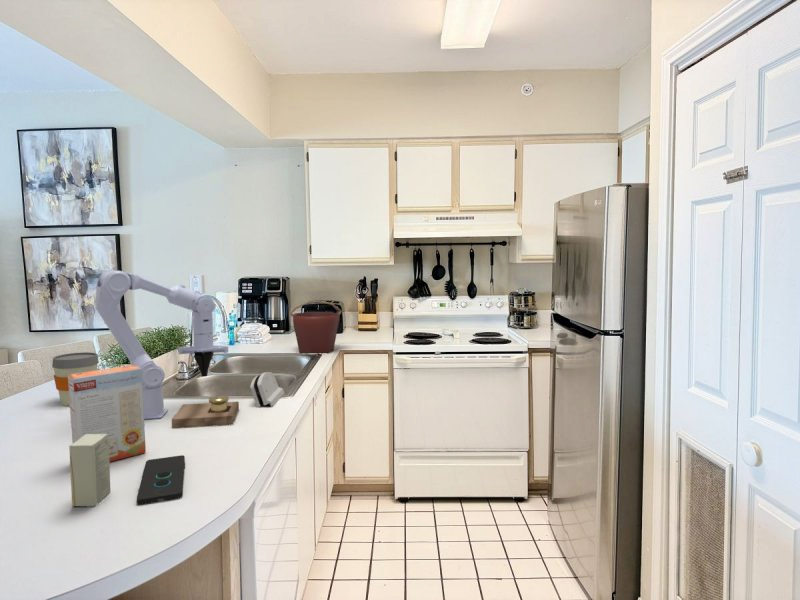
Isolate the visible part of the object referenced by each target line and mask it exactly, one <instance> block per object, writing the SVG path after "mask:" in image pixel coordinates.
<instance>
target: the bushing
mask: <svg viewBox="0 0 800 600" xmlns="http://www.w3.org/2000/svg"><path fill="white" fill-rule="evenodd" d="M229 398H230V397H229V396H228V395H225V394H224V395H223V394H222V395H214V396H210V397H209V398H208V403H211V413H215V412H227V402H229Z"/></svg>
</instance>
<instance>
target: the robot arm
mask: <svg viewBox="0 0 800 600" xmlns="http://www.w3.org/2000/svg"><path fill="white" fill-rule="evenodd" d="M95 289H96V290H95V303H94V304H95V305H94V306H95V310H96V311H97V313H98V314H99V316H100V317H101V319H102V321H103V322H104V324H105V325H106V327H107V328H108V330H109V331H110V333H111V334H112V336H113V337H114V339H115V340H116V342H117V343H118V345H119V347H120V348H121V349H122V351H123V353H124V354H125V356H126V357H127V359H128V361H129V362H130V364H129V365H134V366H137V367H139V368H141V371H142V390H143V409H144V420H149V419H150V420H151V419H152V420H153V419H161V418H163V416H164V415H165V414H166V413H167V412H168V411H169V408H165V407H164V385H163V383H164V380H165V371H164V370H163V368H162V367H161V366H159V365H157V364H156V363H155V361H154V360H153V359H152V358H151V357H150V355H149V354H148V353H147V352H146V350H145V349H144V347H143V344H141V342H140V340H139V339H138V337H137V336H136V334H135V333H134V330H132V328H131V326H130V324H129V323H128V322H127V320H126V319H125V317H124V314H122V311H121V310H120V309H119V307H118V306H119V304H120V302H121V300H122V297H123V296H124V295H125V294H126V293H127V291H128V290H131V291H134V290H140V289H141V290H144V291H146V292H150V293H153V294H156V295H159V296H162V297H165V299H166V300H167V302H168V303H169V304H172V305H174V306H177V307H181V308H184V309H186V310H191V311H192V329H193V331H192V333H193V346H179V347H178V355H183V354H184V355H186V354H187V355H188V354H189V355H190V354H194V355H193V358H194V360H195V362H196V364H197V366H198V368H199V371H200V374H201V377H207V376H208V372H209V367H210V364H211V361H212V358H213V356H214V355H215V354H218V353H222V354H223V353H224V354H227V353H229V345H214V324H213V322H214V321H213V320H214V319H213V312H214V310H215V309H216V304H215V301H214V299H213V298H212V297H210V296H209V295H203V294H201V291H198V290H195V291H194V290H191V289H189V288H187V287H186V285H184V284H180V285H178V284H176V285H173V286H169V285H165V284H162V283H160V282H158V281H155V280H152V279H150V278H148V277H145V276H143V275H139V274H134V273H129V272H125V271H122V270H115V269H108V270H105V271H103V272H102V273H101V274H100V276H99V278H98V279H97V281H96V283H95Z"/></svg>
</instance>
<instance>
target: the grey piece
mask: <svg viewBox="0 0 800 600" xmlns="http://www.w3.org/2000/svg"><path fill="white" fill-rule="evenodd" d="M279 386H280V385H279V384H278V382H277V380H276V377H275V375H274V373H273V372H271V371H267V372H265V371H264V372H263V373H260V374H258V375H256V376H255V377H253V379H252V380H251V383H250V390H251V391H250V392H251V394H252V397H253V400H254V403H255V406H256V408H260V407H262V406H266V405H270V407H271V408H274V407H273V406H276V405H277V403H278V402H279V401H280V399H281V398H282V397H283V396H284V395H285V390H284V388H282V387H279ZM282 395H283V396H282ZM281 396H282V397H281ZM280 397H281V398H280Z"/></svg>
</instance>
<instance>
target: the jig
mask: <svg viewBox="0 0 800 600" xmlns="http://www.w3.org/2000/svg"><path fill="white" fill-rule="evenodd" d="M239 402H240V401H227V412H215V413H211V403H210V402H208V403H207V402H205V403H204V402H203V403H202V402H201V403H187V404H186V403H183V404H182V405H181V407H180V408H179V410H178V411H177V412H175V414H174V415H173V417H172V418H171V429H182V428H181V427H184V428H194V427H195V428H197V427H198V426H201V427H211V426H212V427H214V426H213V425H218V426H232V425H231V424H233V425H234V423H233V422H235V420H236V418H235V417H237V415H238V412H239V410H240V408H239V407H240V405H239V404H240V403H239ZM229 424H230V425H229Z"/></svg>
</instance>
